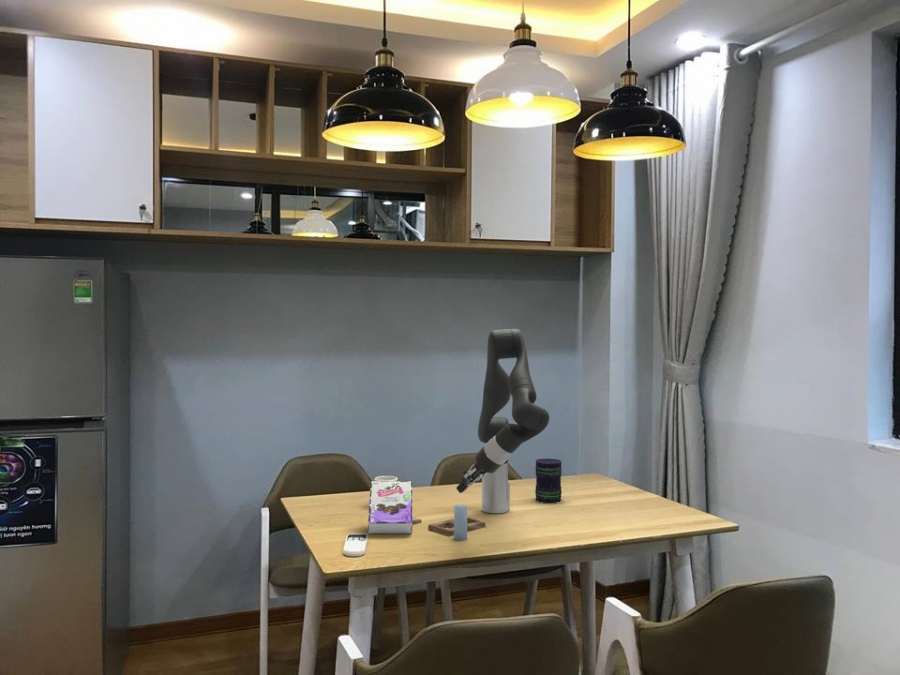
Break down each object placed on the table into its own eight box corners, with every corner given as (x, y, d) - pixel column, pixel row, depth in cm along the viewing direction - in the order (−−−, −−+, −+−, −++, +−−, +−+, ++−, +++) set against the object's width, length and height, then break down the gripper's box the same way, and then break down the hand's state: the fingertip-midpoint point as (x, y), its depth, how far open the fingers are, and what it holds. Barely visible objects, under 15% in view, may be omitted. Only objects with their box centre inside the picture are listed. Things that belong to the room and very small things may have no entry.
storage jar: (563, 503, 262) (563, 463, 262) (536, 503, 262) (536, 463, 262) (559, 497, 272) (559, 458, 272) (534, 497, 272) (534, 458, 272)
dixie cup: (369, 505, 259) (369, 478, 259) (387, 501, 265) (387, 474, 265) (384, 509, 253) (384, 481, 253) (402, 505, 259) (402, 478, 259)
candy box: (367, 523, 219) (370, 480, 231) (368, 534, 223) (370, 491, 235) (412, 522, 220) (412, 480, 232) (412, 533, 223) (412, 491, 236)
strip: (412, 519, 240) (413, 496, 239) (421, 522, 236) (421, 498, 236) (396, 523, 235) (396, 499, 235) (405, 526, 232) (405, 501, 231)
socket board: (464, 520, 239) (464, 516, 239) (485, 526, 232) (485, 521, 232) (428, 529, 228) (428, 524, 228) (449, 536, 221) (449, 531, 221)
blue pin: (460, 535, 221) (460, 503, 221) (469, 538, 218) (469, 506, 218) (451, 538, 219) (451, 505, 218) (460, 541, 216) (460, 508, 215)
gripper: (497, 440, 213) (463, 476, 220) (475, 446, 202) (439, 484, 209) (513, 460, 210) (478, 495, 217) (491, 467, 199) (454, 505, 206)
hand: (459, 490), depth 213 cm, fingers closed
